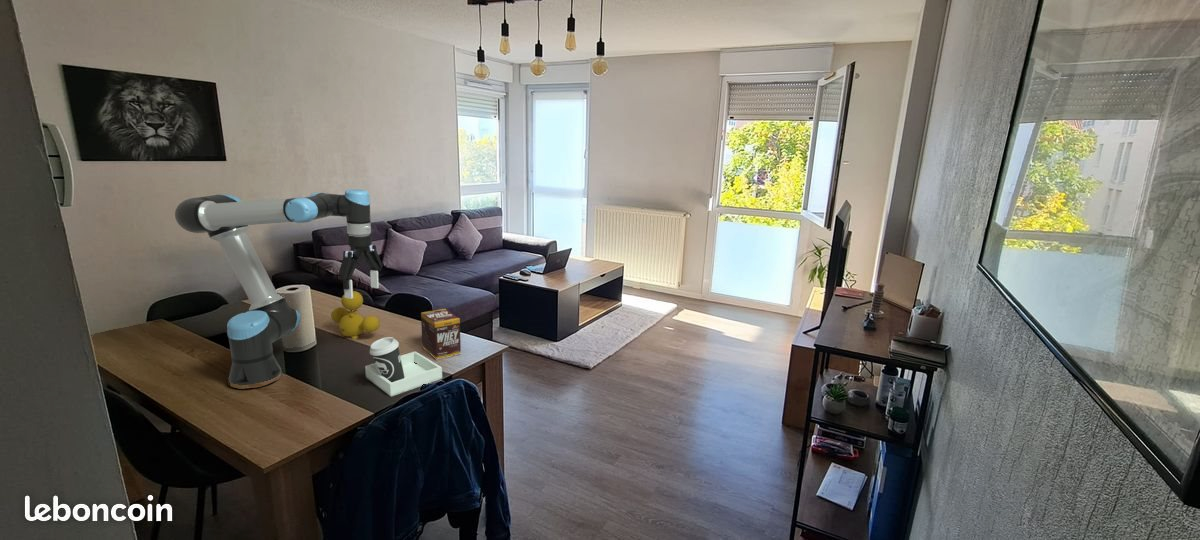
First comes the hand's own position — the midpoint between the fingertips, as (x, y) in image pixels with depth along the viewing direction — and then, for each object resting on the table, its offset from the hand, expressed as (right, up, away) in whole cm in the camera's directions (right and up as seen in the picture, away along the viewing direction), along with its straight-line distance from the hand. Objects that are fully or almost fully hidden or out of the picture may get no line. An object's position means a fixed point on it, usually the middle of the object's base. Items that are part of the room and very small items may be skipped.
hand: (362, 292), depth 175 cm
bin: (+15, -31, 0) cm, 34 cm away
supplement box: (+21, -25, +24) cm, 41 cm away
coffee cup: (+13, -31, -4) cm, 34 cm away
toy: (-21, -21, +35) cm, 46 cm away
